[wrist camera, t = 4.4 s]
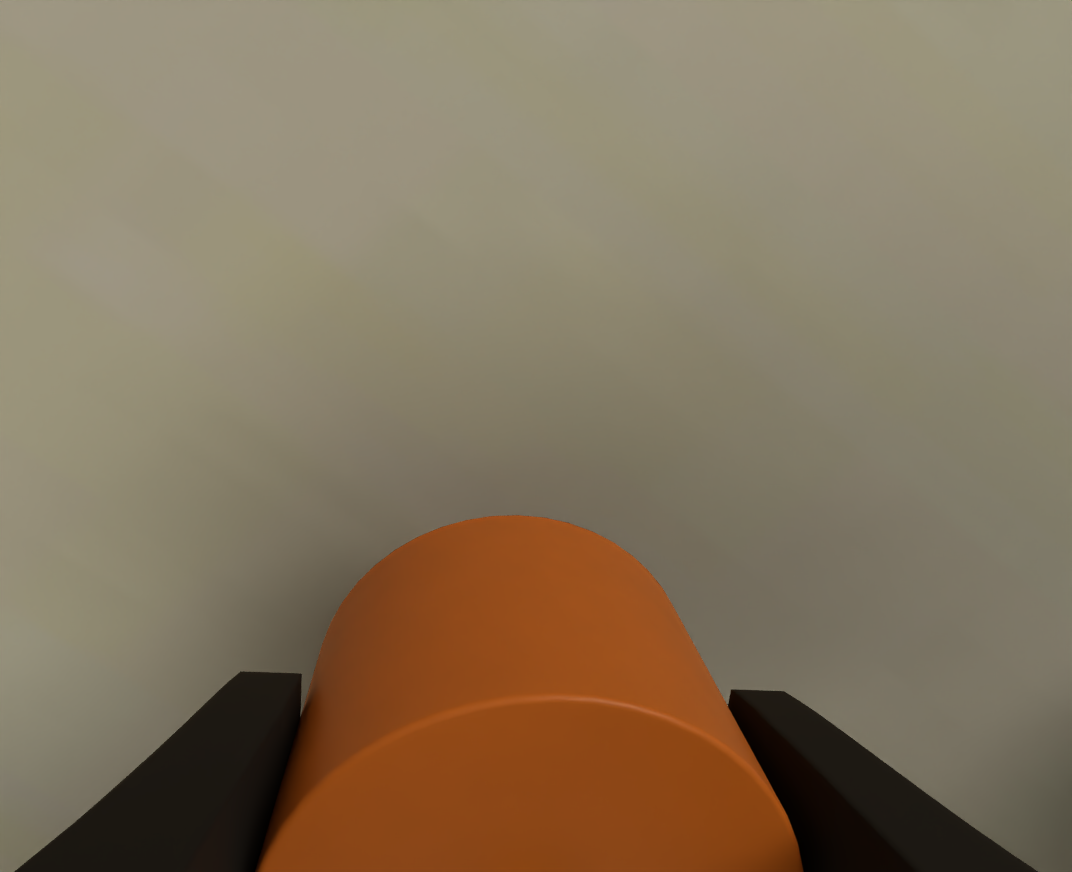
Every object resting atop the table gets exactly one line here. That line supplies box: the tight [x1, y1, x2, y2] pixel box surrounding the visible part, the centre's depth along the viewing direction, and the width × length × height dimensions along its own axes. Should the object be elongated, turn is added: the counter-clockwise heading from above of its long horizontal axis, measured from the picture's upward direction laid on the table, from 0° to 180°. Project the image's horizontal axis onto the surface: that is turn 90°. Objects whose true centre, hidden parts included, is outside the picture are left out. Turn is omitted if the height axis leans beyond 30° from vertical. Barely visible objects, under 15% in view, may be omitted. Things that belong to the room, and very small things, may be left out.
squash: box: [255, 515, 804, 872], centre depth 8 cm, size 5×5×4 cm
